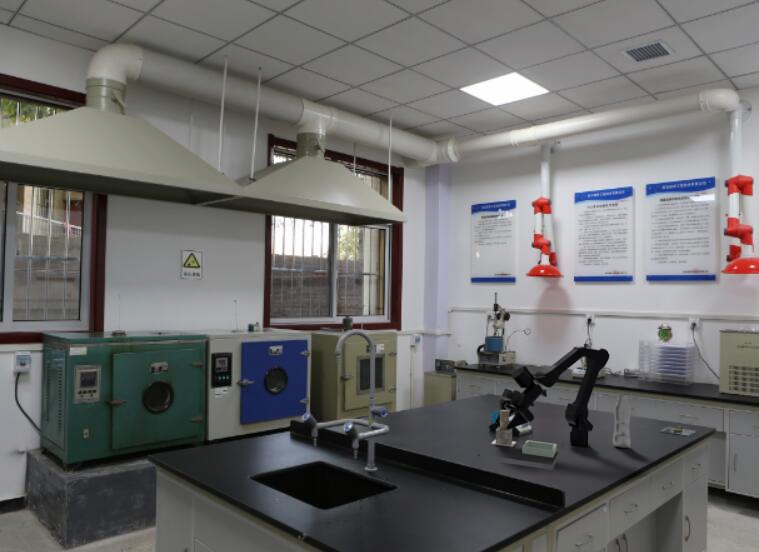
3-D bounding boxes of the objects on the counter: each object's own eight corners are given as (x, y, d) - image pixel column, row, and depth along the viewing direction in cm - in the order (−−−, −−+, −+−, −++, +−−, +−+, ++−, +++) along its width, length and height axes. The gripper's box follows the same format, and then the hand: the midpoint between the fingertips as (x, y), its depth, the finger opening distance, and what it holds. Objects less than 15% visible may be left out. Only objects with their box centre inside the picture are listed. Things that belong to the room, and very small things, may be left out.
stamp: (511, 442, 215) (512, 410, 215) (509, 445, 210) (510, 412, 210) (498, 440, 217) (499, 408, 217) (495, 443, 212) (496, 411, 212)
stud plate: (516, 445, 215) (516, 431, 216) (512, 450, 208) (512, 435, 208) (495, 442, 219) (495, 428, 219) (490, 447, 211) (491, 433, 211)
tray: (556, 454, 205) (556, 444, 205) (553, 461, 195) (553, 450, 195) (526, 450, 209) (527, 440, 209) (522, 457, 199) (522, 446, 200)
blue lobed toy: (496, 429, 235) (489, 408, 243) (489, 436, 239) (482, 416, 246) (518, 431, 240) (510, 411, 247) (510, 438, 243) (503, 419, 250)
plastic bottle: (609, 446, 219) (610, 395, 220) (616, 444, 224) (617, 393, 225) (626, 450, 215) (627, 397, 216) (633, 447, 220) (634, 396, 221)
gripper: (504, 378, 224) (477, 406, 221) (527, 385, 206) (499, 416, 203) (521, 397, 226) (495, 426, 223) (546, 407, 208) (518, 437, 205)
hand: (501, 425), depth 213 cm, fingers open, 9 cm apart
